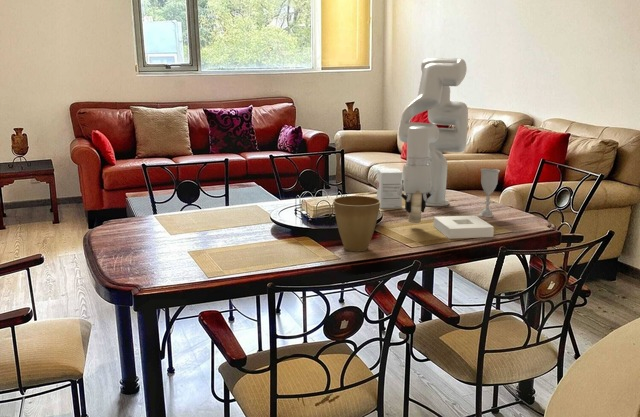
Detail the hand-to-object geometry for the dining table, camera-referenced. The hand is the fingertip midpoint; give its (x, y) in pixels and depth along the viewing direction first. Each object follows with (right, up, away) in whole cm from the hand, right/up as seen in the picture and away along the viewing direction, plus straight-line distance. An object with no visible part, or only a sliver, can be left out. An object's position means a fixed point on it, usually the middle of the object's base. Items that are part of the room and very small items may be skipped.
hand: (415, 210), depth 225 cm
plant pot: (-23, -12, -22) cm, 34 cm away
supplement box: (-6, +2, +34) cm, 34 cm away
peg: (0, -4, +1) cm, 4 cm away
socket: (+17, -7, -2) cm, 18 cm away
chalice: (+31, -2, +20) cm, 37 cm away
